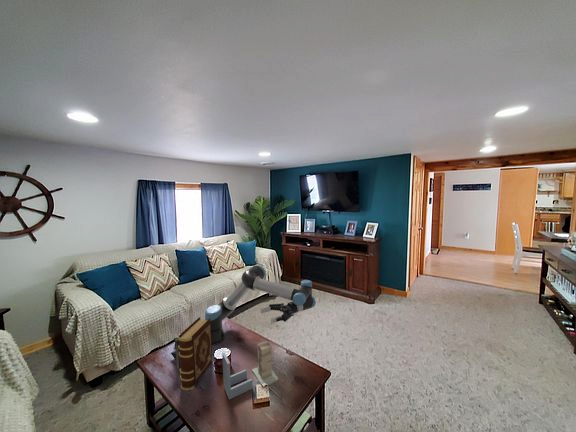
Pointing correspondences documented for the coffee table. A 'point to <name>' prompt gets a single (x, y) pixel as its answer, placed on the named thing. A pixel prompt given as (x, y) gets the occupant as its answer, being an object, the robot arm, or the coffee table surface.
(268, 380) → the sage tile
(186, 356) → the decorative book
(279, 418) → the coffee table surface
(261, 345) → the block
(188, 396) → the coffee table surface
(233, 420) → the coffee table surface
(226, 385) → the slot rack
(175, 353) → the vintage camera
